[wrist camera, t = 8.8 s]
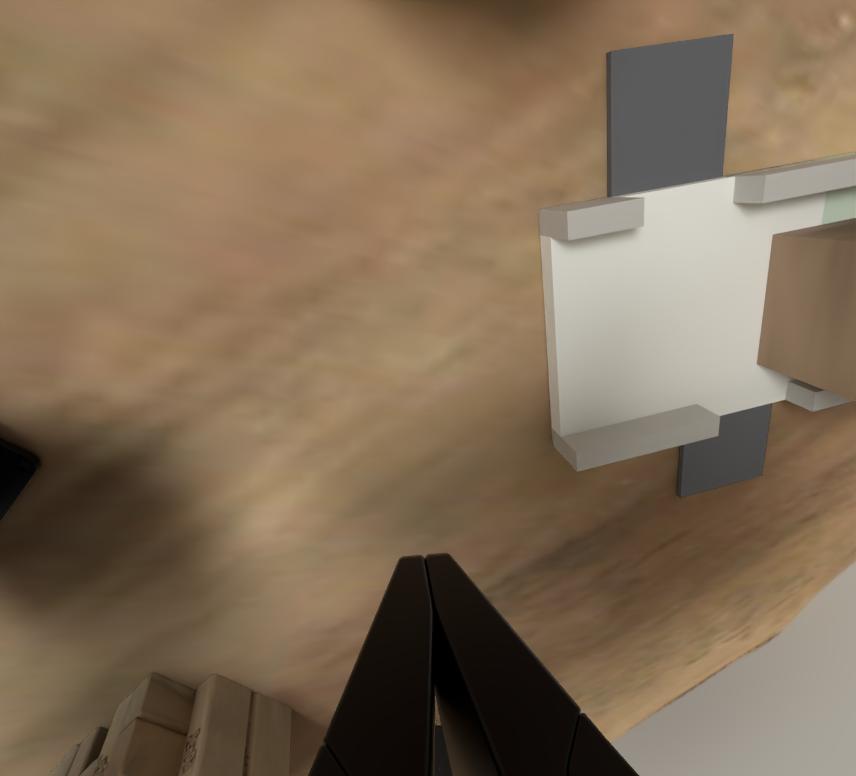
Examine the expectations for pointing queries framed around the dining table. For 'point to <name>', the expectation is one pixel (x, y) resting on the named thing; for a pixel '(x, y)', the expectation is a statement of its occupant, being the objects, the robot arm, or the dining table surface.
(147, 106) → the dining table surface
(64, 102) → the dining table surface
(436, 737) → the travel mug
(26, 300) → the dining table surface
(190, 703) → the block tower
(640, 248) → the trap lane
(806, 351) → the walnut block
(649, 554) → the dining table surface
